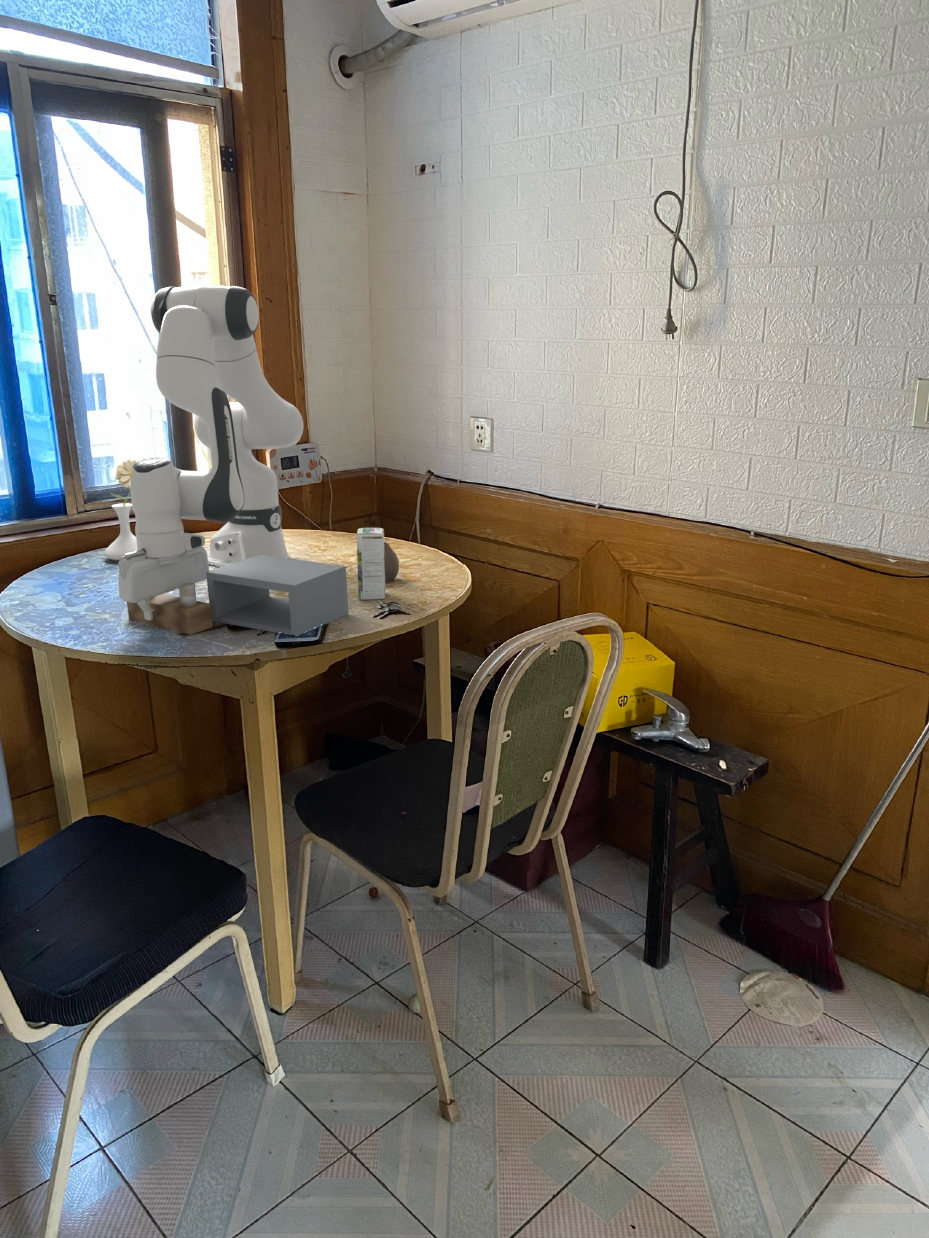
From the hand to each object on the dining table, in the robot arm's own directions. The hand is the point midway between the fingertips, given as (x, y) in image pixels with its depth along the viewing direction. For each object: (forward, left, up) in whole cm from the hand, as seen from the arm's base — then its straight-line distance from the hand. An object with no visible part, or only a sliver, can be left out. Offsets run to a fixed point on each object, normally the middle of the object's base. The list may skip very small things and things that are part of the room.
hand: (169, 612), depth 180 cm
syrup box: (+25, +34, -2) cm, 42 cm away
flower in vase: (-50, +35, -2) cm, 61 cm away
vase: (+20, +46, -2) cm, 50 cm away
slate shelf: (+17, +13, -2) cm, 22 cm away
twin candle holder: (0, 0, -2) cm, 2 cm away
